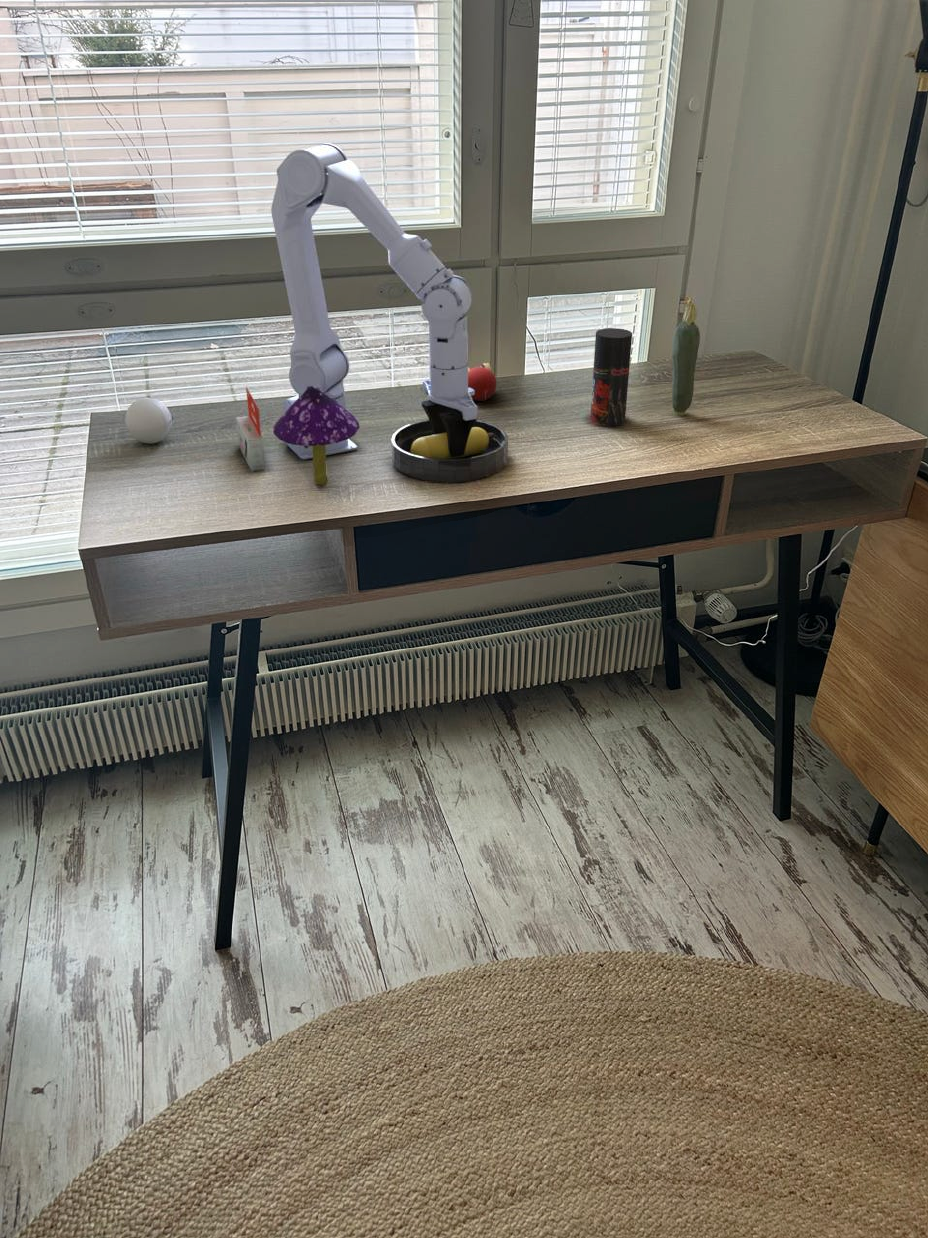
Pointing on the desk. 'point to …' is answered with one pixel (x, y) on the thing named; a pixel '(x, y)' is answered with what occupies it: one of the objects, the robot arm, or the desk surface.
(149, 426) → the white egg
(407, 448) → the pan
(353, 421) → the decorative mushroom
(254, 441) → the ink box
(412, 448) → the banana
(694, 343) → the vegetable
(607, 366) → the deodorant
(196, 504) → the desk surface
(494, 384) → the kendama
